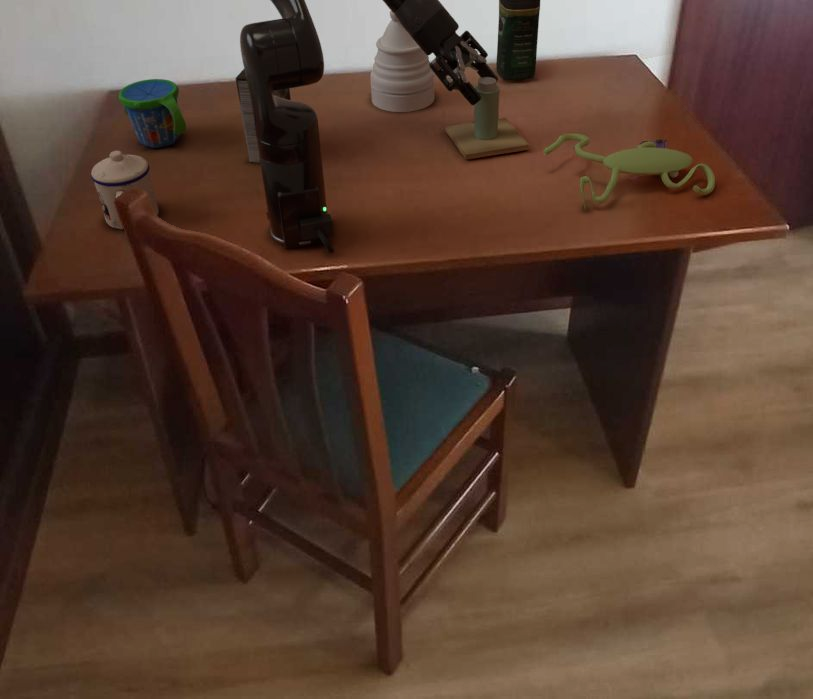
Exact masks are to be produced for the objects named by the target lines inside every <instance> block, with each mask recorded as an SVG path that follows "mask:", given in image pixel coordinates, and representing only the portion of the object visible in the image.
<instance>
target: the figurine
mask: <svg viewBox="0 0 813 699" xmlns="http://www.w3.org/2000/svg"><path fill="white" fill-rule="evenodd" d="M567 141H578V142H577V143H576V144H575V145H574V147H573V150H574V152H575V154H576V155H577V156H578V158H582V159H584V160H588V161H592V162H596V163H600V164H603V165H604V167H605V168H606V169H608V170H610V171H611V176H610V179H609V180H608V183H607V185H606V187H605V190H604V192H603V193H602V194H601V195H600V196H597V195H596V193H595V191H594V186H593V183H592V180H591V178H590V177H589V176H588V175H583V176H580V177H579V178H580V179H579V189H580V193H581V197H582V201H583V207H584V211H586V209H587V207H586V197H585V184H589V186H590V187H591V188H590V190H591V191H590V192H591V198H592V200H593V201H594V203H595V204H596V205H599V204H604V203H605V202H606V201H607V200H608V199H609V198H610V196H611V194H613V190H614V189H615V186H616V185H617V183H618V180H619V175H620V174H625V175H630V176H629V178H630V180H636V179H638V178H639V177H641V176H656V177H659V176H660V179H661V181H662V183H663V185H664V186H665V187H666V188H668V189H670V190H674V189H678V188H680V187H682V186H683V185H685V184H686V183H687V182H688V181H689V180H690V179H691V177H692V176H693V174H694V172H695V170H696V169H700V170H701V171H702V172H704V174H705V176H706V178H707V186H706V188H700V186H698V185H697V184H695V185H693V186H692V190H693V191H694V192H695V193H696V194H697V195H699V196H708V195H709V194H711V193H712V192H713V191H714V189H715V186H716V177H715V173H714V171H713V170H712V168H711V167H710V166H709V165H708V164H706V163H698V164H696V165H695V166H693V167H691V169H690V170H689V171H688V172H687V174H686V176H684V177H683V179H681V180H680V181H679V182H677V183H675V182H673V181H672V180H671V179H670V177H671V178H672V179H675V178H676V177H678V176H679V173H680V172H679V171H682V170H684V169H687V168H688V167H689V166H691V165H692V163H693V162H694V160H693V158H692V157H691V155H689V153H685V152H683V151H680V150H677V149H671V148H668V139H656V140H653V141H652V140H651V141H648V140H643V141H642V142H639V144H638V145H637V146H636V147H635V148H634V147H632V148H628V149H621V150H619V151H616V152H612V153H611V154H609V155H607V156H606V155H600V154H597V153H592V152H588V151H585V150H583V148H584V147H587V146H588V145H589V144H590V143H591V139H590V138H589V137H588V135H587V136H586V135H584V134H581V133H564V134H560V135H559V137H557V139H556V140H555V141H554V142H553V143H552V144H551V145H549V146H547V147H545V148H544V149H543V152H542V153H543V156H547V155H549V154H552V153H553V152H555V151H556V150H557V149H558V148H560V146H562V144H563V143H564V142H567Z"/></svg>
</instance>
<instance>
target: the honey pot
mask: <svg viewBox="0 0 813 699" xmlns="http://www.w3.org/2000/svg"><path fill="white" fill-rule="evenodd" d="M389 17H390V19H391V20H390V21H389V23H388V24H387V26H386V27H385V30H384V32H383V34H382V36H381V37H379V38H378V39H377V40H376V42H375V46H376V49H377V51H376V55H375V57H374V62H373V64H372V69H371V72H370V76H369V77H370V94H371V95H370V96H371V104H373V106H375V107H376V108H378V109H379V110H383V111H385V112H386V111H387V112H391V113H410V112H416V111H419V110H423V109H426V108H427V107H429V106H431V105H432V104H433V103H434V101H435V73H434V72H433V70H432V69H431V68H430V66H429V64H430V63H431V60H429V59H430V58H429V55H426V54H425V53H424V52H423V50H422V49H421V48H420V47H419V46H418V44H417V43H416V42H415V41H414V40H413V39H412V37H411V36H410V35H409V34H408V33H407V31H406V30H405V29H404V28H403V26H402V25H401V24H400V22H399V21H398V19H397V17H396V16H395V15H394V13H393V12H392V11H391V10H390V11H389Z"/></svg>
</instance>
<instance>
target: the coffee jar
mask: <svg viewBox="0 0 813 699" xmlns="http://www.w3.org/2000/svg"><path fill="white" fill-rule="evenodd" d="M540 11H541V0H498V26H497V44H496V45H497V46H496V47H497V48H496V63H495V64H496V66H495V67H496V68H495V69H496V71H497V74H498V75H499V77H500V78H501V79H502V80H503V81H511V82H516V83H520V82H521V83H522V82H525V81H528V80H531V79H534V78H535V76H536V71H537V70H536V69H537V56H538V55H537V52H538V41H539V40H538V39H539V27H540V26H539V24H540V23H539V21H540Z"/></svg>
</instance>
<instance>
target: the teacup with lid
mask: <svg viewBox="0 0 813 699" xmlns="http://www.w3.org/2000/svg"><path fill="white" fill-rule="evenodd" d="M90 178H91V180H92V181H93V183H94V186H95V189H96V192H97V196H98V199H99V202H100V205H101V209H102V214H103V216H104V220H105V222H106V224H107V225H108V226H110V228H114V229H117V230H122V231H123V227H122V225H121V222H120V220H119V217H118V214H117V211H116V208H115V204H114V201H115V198H117V197H118V196H120V195H121V194H122V193H124V192H125V191H127V190H130V189H141V190H144V191H146V192H147V193H148V194H149V197H150V200H151V203H152V206H153V208H154V210H155V212H156V214H157V217H158V216H159V206H158V201H157V198H156V193H155V190H154V186H153V181H152V177H151V173H150V164H149V163H148V161H147V160H146V159H145V158H143V157H142V156H140V155H136V154H124V153H123V152H122V151H120V150H113V151H111V152H110V153H109V157H106V158H103V159H102V160H100V161H99V162H97V163H95V165H94V166H93V167H92V169H91V173H90Z"/></svg>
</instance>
